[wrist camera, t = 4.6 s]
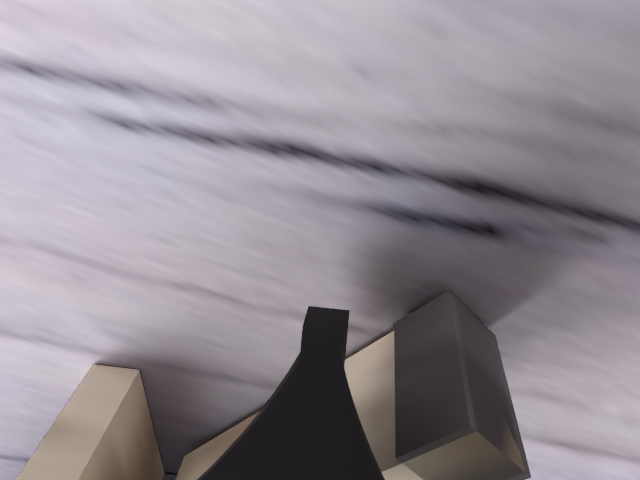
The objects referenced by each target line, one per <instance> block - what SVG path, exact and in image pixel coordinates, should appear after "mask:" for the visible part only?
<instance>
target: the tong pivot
mask: <svg viewBox="0 0 640 480" xmlns="http://www.w3.org/2000/svg"><path fill="white" fill-rule="evenodd" d="M176 477H177V475H172V474H165V473H164V469H163V465H162V461H161V457H160V452H159V448H158V444H157V440H156V436H155V432H154V428H153V424H152V420H151V416H150V411H149V407H148V403H147V399H146V395H145V391H144V387H143V383H142V379H141V375H140V370H136V369H128V368H120V367H112V366H104V365H95V364H93V365H92V366H91V368H90V369H89V371H88V372H87V374H86V375H85V377H84V378H83V380H82V381H81V383H80V384H79V386H78V387H77V389H76V390H75V392H74V393H73V395H72V396H71V398H70V399H69V401H68V402H67V404H66V405H65V407H64V408H63V410H62V411H61V413H60V414H59V416H58V417H57V419H56V420H55V422H54V423H53V425H52V426H51V428H50V429H49V431H48V432H47V434H46V435H45V437H44V438H43V440H42V441H41V443H40V444H39V446H38V447H37V449H36V450H35V452H34V453H33V454H32V456H31V457H30V459H29V460H28V462H27V463H26V465H25V466H24V468H23V469H22V471H21V472H20V474H19V475H18V477H17V478H16V480H175V479H176Z"/></svg>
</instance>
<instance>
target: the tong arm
mask: <svg viewBox="0 0 640 480" xmlns="http://www.w3.org/2000/svg"><path fill="white" fill-rule="evenodd" d="M344 369H345V373H346V377H347V381H348V385H349V388H350V392H351V395H352V398H353V401H354V404H355V407H356V411H357V413H358V416H359V419H360V422H361V425H362V427H363V430H364V433H365V435H366V438H367V440H368V443H369V445H370V448H371V450H372V452H373V455H374V457H375V459H376V461H377V464H378V466H379V468H380V470H381V473H382V475H383V477H384V479H385V480H525V479H528V478H531V475H530V471H529V467H528V463H527V459H526V455H525V451H524V448H523V444H522V440H521V436H520V432H519V428H518V424H517V420H516V416H515V412H514V408H513V404H512V400H511V396H510V392H509V388H508V384H507V380H506V376H505V372H504V368H503V365H502V361H501V357H500V353H499V349H498V345H497V341H496V337H495V335H494V334H493V333H492V332H491V331H490V330H489V329H488V328H487V327H486V326H485V325H484V324H483V323H482V322H481V321H480V320H479V319H478V318H477V317H476V316H475V315H474V314H473V313H472V312H471V311H470V310H469V309H468V308H467V307H465V306H464V305H463V304H462V303H461V302H460V301H459V300H458V299H457V298H456V297H455V296H454V295H453V294H452V293H451V292H450V291H449V290H448V291H446V292H445V293H443V294H442V295H440V296H438V297H437V298H435V299H433V300H432V301H430V302H428V303H427V304H425V305H423V306H422V307H420V308H418V309H417V310H415V311H414V312H412V313H410V314H409V315H407V316H405V317H404V318H402V319H400V320H399V321H397V322H395V323H394V331H392V332H391V333H389V334H387V335H386V336H384V337H382V338H381V339H379V340H377V341H376V342H374V343H372V344H371V345H369V346H367V347H366V348H364V349H362V350H361V351H359V352H357V353H356V354H354V355H352V356H351V357H349V358H347V359H346V360H345V363H344ZM260 411H261V410H260ZM260 411H259V412H260ZM259 412H257V413H255V414H254V415H252V416H250V417H249V418H247V419H245V420H244V421H242V422H240V423H239V424H237V425H235V426H234V427H232V428H230V429H229V430H227V431H225V432H224V433H222V434H220V435H219V436H217V437H215V438H214V439H212V440H210V441H209V442H207V443H205V444H204V445H202V446H200V447H199V448H197V449H195V450H194V451H192V452H190V453H189V454H187V455H185V456H184V459H183V461H182V464H181V466H180V469H179V472H178V474H177V477H176V479H175V480H197V479H198V478H199V477H200V476H201V475H202V474H203V473H204V472H205V471H207V470H208V469H209V468H210V467H211V466H212V465H213V464H214V463H215V462H216V461H217V460H218V458H219V457H220V456H221V455H222V454H223V453H224V452H225V451H226V450H227V449H228V448H229V447H230V446H231V445H232V443H233V442H234V441H235V440H236V439H237V438H238V437H239V436H240V435H241V434H242V432H243V431H244V430H245V429H246V428H247V427H248V425H249V424H250V423H251V422H252V421H253V419H254V418H255V417H256V416H257V414H258V413H259Z"/></svg>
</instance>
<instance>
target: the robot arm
mask: <svg viewBox="0 0 640 480" xmlns="http://www.w3.org/2000/svg"><path fill="white" fill-rule="evenodd" d="M348 320H349V310H340V309H330V308H321V307H311V306H309V307H308V310H307V314H306V317H305V321H304V325H303V331H302V341H301V352H300V354H299V355H298V357H297V359H296V360H295V362H294V364H293V365H292V367H291V368H290V370H289V372H288V373H287V375H286V376H285V378H284V379H283V380H282V382H281V383H280V385H279V386H278V388H277V389H276V390H275V392H274V393H273V395H272V396H271V398H270V399H269V400H268V402H267V403H266V404H265V405H264V407H263V408H262V409H261V411H260V412H259V413H258V414H257V416H256V417H255V418H254V419H253V421H252V422H251V423H250V424H249V425H248V427H247V428H246V429H245V430H244V431H243V432H242V434H241V435H240V436H239V437H238V438H237V439H236V440H235V441H234V442H233V443H232V445H231V446H230V447H229V448H228V449H227V450H226V451H225V452H224V453H223V454H222V455H221V456H220V457H219V458H218V460H217V461H216V462H215V463H214V464H213V465H212V466H211V467H210V468H209V469H208V470H207V471H205V472H204V473H203V474H202V475H201V476H200V477H199V478H198V479H197V480H385V479H384V477H383V475H382V473H381V470H380V468H379V466H378V464H377V461H376V459H375V457H374V455H373V452H372V450H371V448H370V445H369V443H368V440H367V438H366V435H365V433H364V430H363V427H362V425H361V422H360V419H359V416H358V413H357V411H356V407H355V404H354V401H353V398H352V395H351V392H350V388H349V385H348V381H347V377H346V373H345V369H344V363H345V353H346V342H347V331H348Z"/></svg>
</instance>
